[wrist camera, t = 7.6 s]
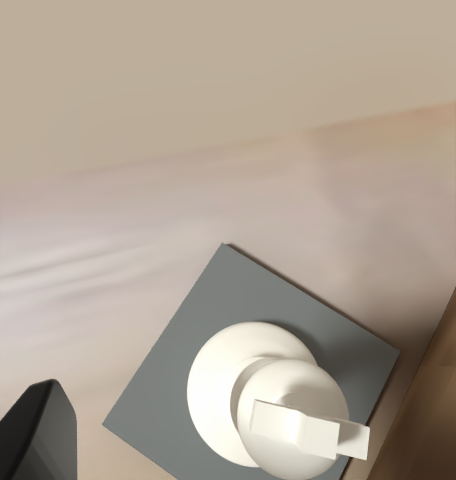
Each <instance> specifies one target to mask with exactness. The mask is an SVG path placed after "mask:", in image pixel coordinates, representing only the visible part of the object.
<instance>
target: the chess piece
mask: <svg viewBox="0 0 456 480" xmlns="http://www.w3.org/2000/svg"><path fill="white" fill-rule="evenodd" d="M187 400H188V407H189V411H190V415H191V418H192V421H193V423H194V425H195V427H196V429H197V431H198V433H199V434H200V436H201V437H202V439H203V440H204V441H205V442H206V443H207V444H208V446H209V447H210V448H212V449H213V450H214V451H215V452H216V453H217V454H219V455H220V456H222V457H223V458H225V459H227V460H229V461H231V462H233V463H236V464H239V465H242V466H247V467H261V468H262V469H263V470H265V471H266V472H268V473H269V474H271V475H273V476H275V477H278V478H281V479H285V480H307V479H311V478H314V477H316V476H318V475H320V474H322V473H324V472H325V471H326V470H328V469H329V468H330V467H331V466H332V465H333V464H334V463H335V462H336V461H337V459H338V458H339V457H340V455H341V454H342V455H347V456H351V457H355V458H359V459H363V460H367V451H368V442H369V432H370V428H369V427H367V426H365V425H362V424H360V423H356V422H351V421H349V412H348V407H347V403H346V400H345V397H344V395H343V393H342V391H341V389H340V387H339V386H338V384H337V383H336V382H335V380H334V379H333V378H332V377H331V376H330V375H329V374H328V373H327V372H326V371H324V370H323V369H322V368H320V367H318V365H317V363H316V361H315V359H314V357H313V355H312V354H311V352H310V351H309V350H308V348H307V347H306V346H305V345H304V344H303V343H302V342H301V341H300V340H299V339H298V338H297V337H296V336H294V335H293V334H291V333H290V332H288V331H286V330H285V329H283V328H281V327H278V326H276V325H273V324H269V323H265V322H243V323H238V324H234V325H232V326H229V327H227V328H225V329H223V330H221V331H219V332H218V333H216V334H215V335H214V336H213V337H211V338H210V339H209V340H208V341H207V342H206V343H205V344H204V346H203V347H202V348H201V350H200V351H199V353H198V354H197V356H196V358H195V360H194V362H193V364H192V367H191V370H190V374H189V378H188V385H187Z"/></svg>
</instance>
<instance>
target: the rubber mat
mask: <svg viewBox="0 0 456 480" xmlns="http://www.w3.org/2000/svg"><path fill="white" fill-rule="evenodd" d="M243 322H265V323H269V324H273V325H276V326H278V327H281V328H283V329H285V330H286V331H288V332H290V333H291V334H293V335H294V336H296V337H297V338H298V339H299V340H300V341H301V342H302V343H303V344H304V345H305V346H306V347H307V348H308V350H309V351H310V352H311V354H312V355H313V357H314V359H315V361H316V363H317V365H318V367H320V368H322V369H323V370H324V371H326V372H327V373H328V374H329V375H330V376H331V377H332V378H333V379H334V380H335V382H336V383H337V384H338V386H339V387H340V389H341V391H342V393H343V395H344V397H345V400H346V403H347V407H348V412H349V421H351V422H356V423H360V424H362V425H365V424H366V422H367V420H368V418H369V416H370V414H371V412H372V410H373V407H374V405H375V403H376V401H377V399H378V397H379V395H380V393H381V391H382V389H383V387H384V385H385V383H386V380H387V378H388V376H389V374H390V372H391V370H392V368H393V366H394V364H395V362H396V360H397V358H398V355H399V353H400V351H399V350H397V349H396V348H394V347H392V346H391V345H389V344H388V343H386V342H384V341H383V340H381V339H379V338H378V337H376V336H374V335H373V334H371V333H370V332H368V331H366V330H365V329H363V328H361V327H360V326H358V325H356V324H355V323H353V322H352V321H350V320H348V319H347V318H345V317H343V316H342V315H340V314H338V313H337V312H335V311H334V310H332V309H330V308H329V307H327V306H325V305H324V304H322V303H320V302H319V301H317V300H316V299H314V298H312V297H311V296H309V295H307V294H306V293H304V292H302V291H301V290H299V289H298V288H296V287H294V286H293V285H291V284H289V283H288V282H286V281H284V280H283V279H281V278H280V277H278V276H276V275H275V274H273V273H271V272H270V271H268V270H266V269H265V268H263V267H261V266H260V265H258V264H257V263H255V262H253V261H252V260H250V259H248V258H247V257H245V256H243V255H242V254H240V253H239V252H237V251H235V250H234V249H232V248H230V247H229V246H227V245H225V244H224V243H222V244H221V245H220V247H219V248H218V250H217V251H216V253H215V254H214V256H213V257H212V259H211V260H210V262H209V263H208V265H207V266H206V268H205V269H204V271H203V272H202V274H201V275H200V277H199V278H198V280H197V281H196V283H195V285H194V286H193V288H192V289H191V291H190V292H189V294H188V295H187V297H186V298H185V300H184V301H183V303H182V304H181V306H180V307H179V309H178V310H177V312H176V313H175V315H174V316H173V318H172V319H171V321H170V322H169V324H168V325H167V327H166V328H165V330H164V331H163V333H162V334H161V336H160V337H159V339H158V340H157V342H156V343H155V345H154V346H153V348H152V349H151V351H150V352H149V354H148V355H147V357H146V358H145V360H144V361H143V363H142V364H141V366H140V367H139V369H138V370H137V372H136V373H135V375H134V376H133V378H132V379H131V381H130V382H129V384H128V385H127V387H126V388H125V390H124V391H123V393H122V394H121V396H120V398H119V399H118V401H117V402H116V404H115V405H114V407H113V408H112V410H111V411H110V413H109V414H108V416H107V417H106V419H105V420H104V422H103V423H102V425H103V426H104V427H106V428H107V429H108V430H110V431H111V432H113V433H114V434H115V435H117V436H118V437H120V438H121V439H122V440H124V441H125V442H127V443H128V444H129V445H131V446H132V447H133V448H135V449H136V450H138V451H139V452H140V453H142V454H143V455H145V456H146V457H147V458H149V459H150V460H152V461H153V462H154V463H156V464H157V465H159V466H160V467H161V468H163V469H164V470H166V471H167V472H168V473H170V474H171V475H172V476H174V477H175V478H177V479H178V480H285V479H281V478H278V477H275V476H273V475H271V474H269V473H268V472H266V471H265V470H263V469H262V468H261V467H247V466H242V465H239V464H236V463H233V462H231V461H229V460H227V459H225V458H223V457H222V456H220V455H219V454H217V453H216V452H215V451H214V450H213V449H212V448H210V447H209V446H208V444H207V443H206V442H205V441H204V440H203V439H202V437H201V436H200V434H199V433H198V431H197V429H196V427H195V425H194V423H193V421H192V418H191V415H190V411H189V407H188V400H187V385H188V378H189V374H190V370H191V367H192V364H193V362H194V360H195V358H196V356H197V354H198V353H199V351H200V350H201V348H202V347H203V346H204V344H205V343H206V342H207V341H208V340H209V339H210V338H211V337H213V336H214V335H215V334H216V333H218V332H219V331H221V330H223V329H225V328H227V327H229V326H232V325H234V324H238V323H243ZM349 457H350V456H347V455H342V454H341V455H340V457H339V458H338V459H337V461H336V462H335V463H334V464H333V465H332V466H331V467H330V468H329V469H328V470H326V471H325V472H324V473H322V474H320V475H318V476H316V477H314V478H311V479H307V480H339V478H340V476H341V474H342V472H343V470H344V468H345V466H346V464H347V462H348V459H349Z"/></svg>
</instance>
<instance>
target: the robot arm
mask: <svg viewBox="0 0 456 480" xmlns="http://www.w3.org/2000/svg"><path fill="white" fill-rule="evenodd" d="M0 480H77V421H76V415H75V411H74V409H73V407H72V405H71V403H70V401H69V399H68V398H67V396H66V394H65V392H64V390H63V388H62V387H61V385H60V383H59V382H58V381H57V380H56V379H49V380H45V381H42V382H38V383H35V384H33V385H31V386H29V387H28V388H27V389H26V390H25V392H24V393H23V394H22V395H21V397H20V398H19V399H18V400H17V401H16V403H15V404H14V405H13V406H12V407H11V409H10V410H9V411H8V412H7V413H6V415H5V416H4V417H3V418H2V419H1V421H0Z"/></svg>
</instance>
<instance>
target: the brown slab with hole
mask: <svg viewBox="0 0 456 480" xmlns="http://www.w3.org/2000/svg"><path fill="white" fill-rule="evenodd" d="M367 480H456V288H455V290H454V292H453V295H452V297H451V299H450V301H449V303H448V305H447V308H446V310H445V312H444V314H443V316H442V318H441V321H440V323H439V325H438V327H437V329H436V331H435V334H434V336H433V338H432V340H431V342H430V344H429V347H428V349H427V351H426V353H425V355H424V357H423V360H422V362H421V364H420V366H419V368H418V370H417V372H416V375H415V377H414V379H413V381H412V383H411V385H410V388H409V390H408V392H407V394H406V396H405V398H404V401H403V403H402V405H401V407H400V409H399V411H398V414H397V416H396V418H395V420H394V422H393V424H392V427H391V429H390V431H389V433H388V435H387V437H386V440H385V442H384V444H383V446H382V448H381V450H380V453H379V455H378V457H377V459H376V461H375V463H374V466H373V468H372V470H371V472H370V474H369V476H368V479H367Z"/></svg>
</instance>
